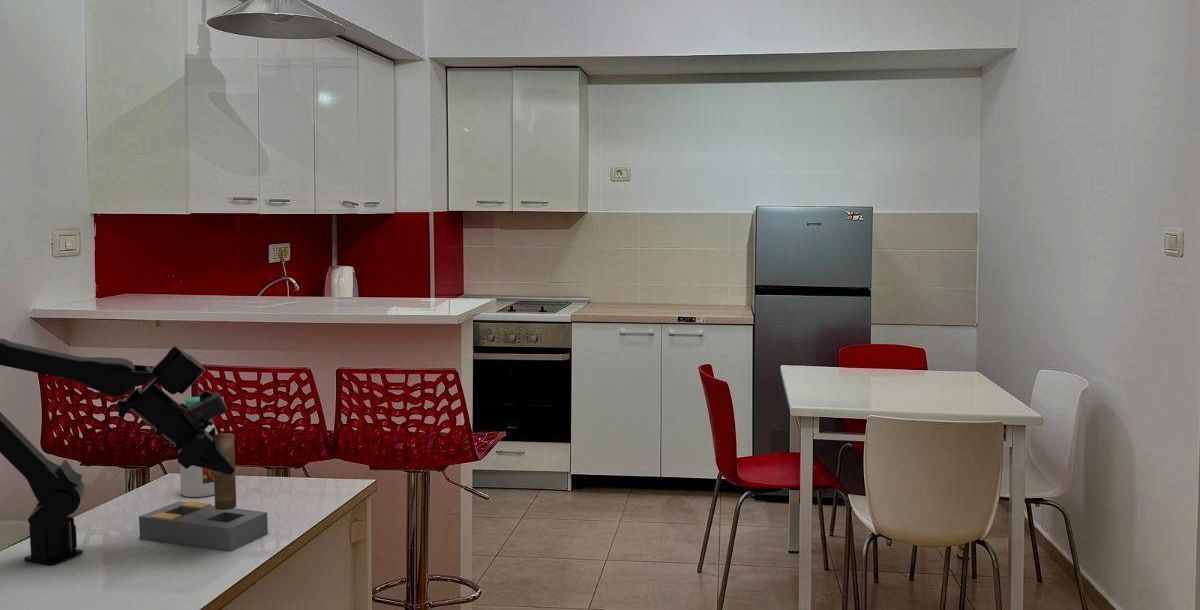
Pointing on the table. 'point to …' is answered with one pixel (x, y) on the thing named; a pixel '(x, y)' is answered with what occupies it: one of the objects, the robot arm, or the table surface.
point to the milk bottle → (197, 472)
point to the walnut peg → (222, 481)
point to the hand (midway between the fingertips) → (232, 470)
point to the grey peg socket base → (203, 525)
